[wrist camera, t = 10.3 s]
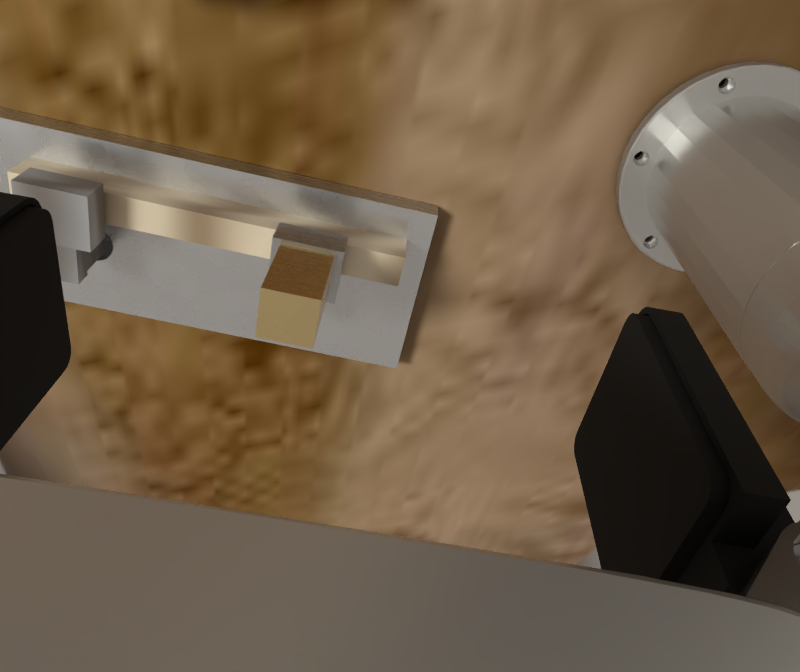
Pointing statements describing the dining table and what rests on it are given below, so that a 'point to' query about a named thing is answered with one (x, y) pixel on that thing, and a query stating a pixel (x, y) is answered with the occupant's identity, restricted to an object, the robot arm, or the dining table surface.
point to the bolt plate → (218, 268)
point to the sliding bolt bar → (176, 220)
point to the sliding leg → (299, 283)
